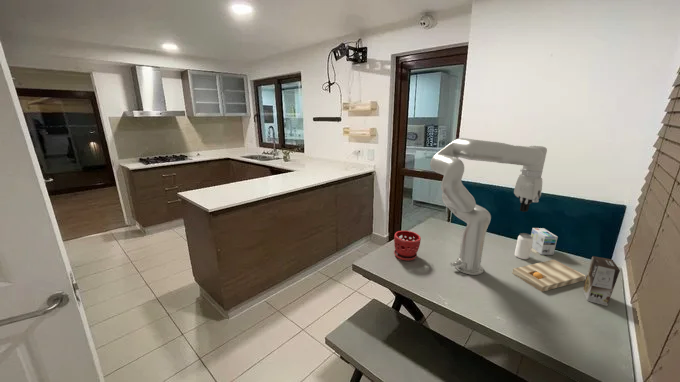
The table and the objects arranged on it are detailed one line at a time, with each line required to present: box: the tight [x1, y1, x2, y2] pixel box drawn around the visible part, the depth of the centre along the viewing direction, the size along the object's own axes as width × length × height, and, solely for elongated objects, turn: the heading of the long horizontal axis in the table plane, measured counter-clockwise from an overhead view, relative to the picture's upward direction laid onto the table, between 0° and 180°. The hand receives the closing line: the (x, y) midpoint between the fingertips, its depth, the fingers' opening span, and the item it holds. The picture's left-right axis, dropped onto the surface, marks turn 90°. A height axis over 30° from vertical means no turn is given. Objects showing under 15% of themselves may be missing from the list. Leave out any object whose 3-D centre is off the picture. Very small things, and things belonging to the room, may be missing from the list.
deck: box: [511, 259, 587, 293], centre depth 122 cm, size 26×14×2 cm, turn 108°
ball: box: [533, 272, 543, 279], centre depth 120 cm, size 4×4×4 cm
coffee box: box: [582, 255, 621, 307], centre depth 107 cm, size 9×6×16 cm
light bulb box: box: [530, 227, 559, 256], centre depth 145 cm, size 11×7×11 cm, turn 178°
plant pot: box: [393, 230, 422, 262], centre depth 139 cm, size 13×13×12 cm
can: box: [514, 232, 533, 260], centre depth 138 cm, size 6×6×12 cm
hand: (523, 210), depth 128 cm, fingers closed
